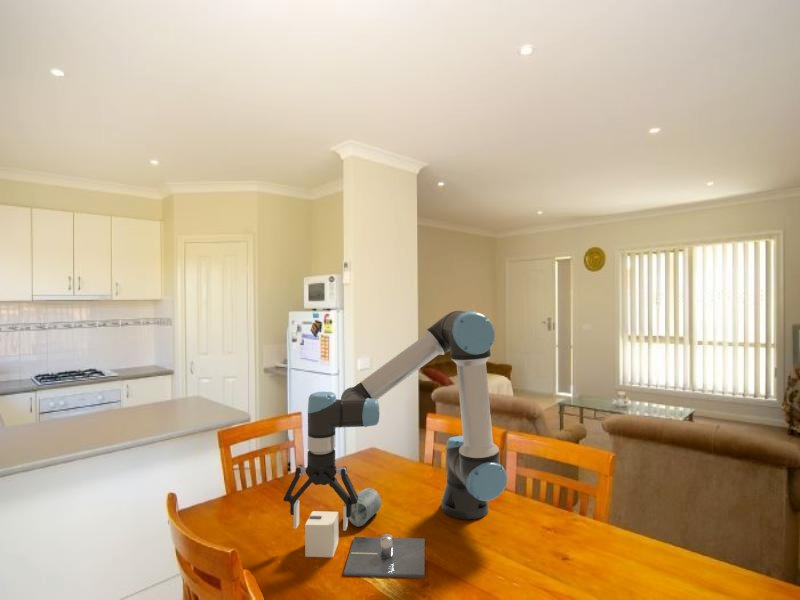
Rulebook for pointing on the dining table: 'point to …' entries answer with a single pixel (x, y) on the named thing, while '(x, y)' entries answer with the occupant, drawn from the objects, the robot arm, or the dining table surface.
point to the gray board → (386, 557)
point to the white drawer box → (321, 534)
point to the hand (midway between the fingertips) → (320, 527)
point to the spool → (365, 507)
